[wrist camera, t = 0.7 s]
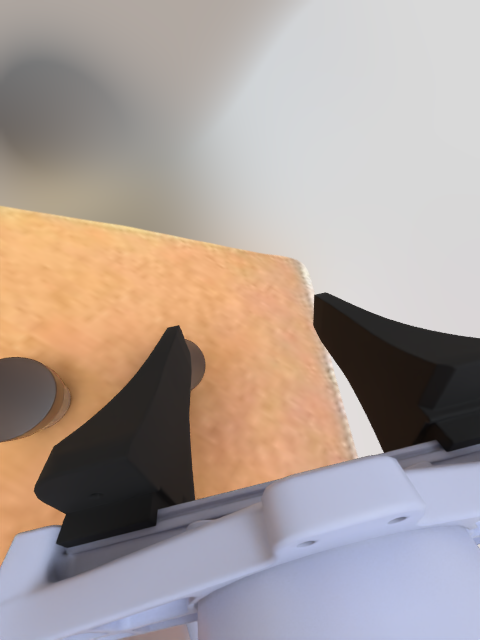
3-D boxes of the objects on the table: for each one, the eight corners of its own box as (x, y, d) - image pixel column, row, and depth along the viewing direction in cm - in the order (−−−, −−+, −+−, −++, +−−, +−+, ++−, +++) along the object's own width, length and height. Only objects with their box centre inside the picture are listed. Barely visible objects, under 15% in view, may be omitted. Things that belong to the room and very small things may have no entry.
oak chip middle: (198, 395, 24) (205, 393, 22) (144, 396, 22) (145, 394, 20) (199, 346, 26) (205, 340, 24) (149, 342, 24) (151, 335, 22)
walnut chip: (22, 454, 16) (7, 460, 14) (-54, 416, 15) (-82, 416, 13) (81, 386, 19) (75, 382, 17) (18, 350, 18) (4, 342, 16)
